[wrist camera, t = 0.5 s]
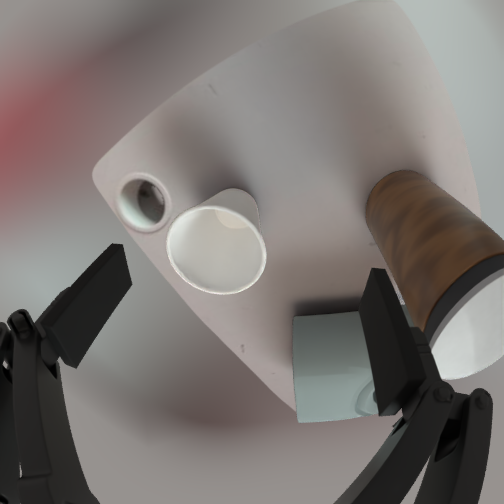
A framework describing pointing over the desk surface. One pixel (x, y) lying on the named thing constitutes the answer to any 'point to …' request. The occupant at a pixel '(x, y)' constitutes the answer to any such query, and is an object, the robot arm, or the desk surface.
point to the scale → (469, 321)
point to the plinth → (426, 238)
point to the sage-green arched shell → (332, 367)
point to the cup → (218, 243)
